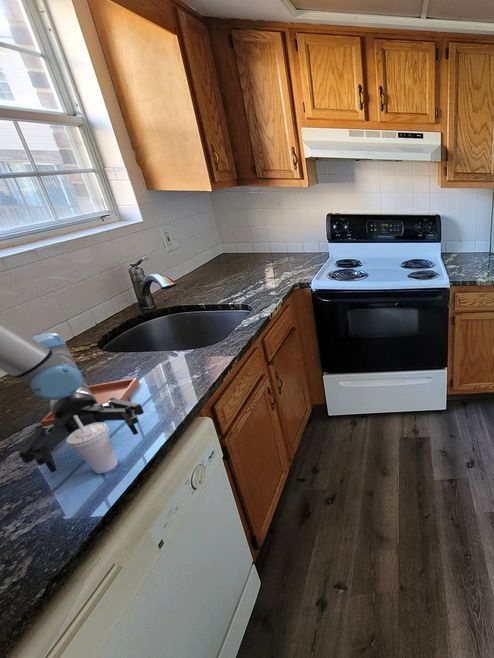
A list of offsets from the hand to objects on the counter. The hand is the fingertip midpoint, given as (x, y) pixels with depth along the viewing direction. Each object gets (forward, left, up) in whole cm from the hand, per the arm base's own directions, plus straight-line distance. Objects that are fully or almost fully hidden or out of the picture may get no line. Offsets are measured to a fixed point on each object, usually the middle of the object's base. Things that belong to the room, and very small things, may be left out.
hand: (94, 447), depth 75 cm
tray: (-16, +32, -8) cm, 36 cm away
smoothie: (-2, +3, -8) cm, 9 cm away
